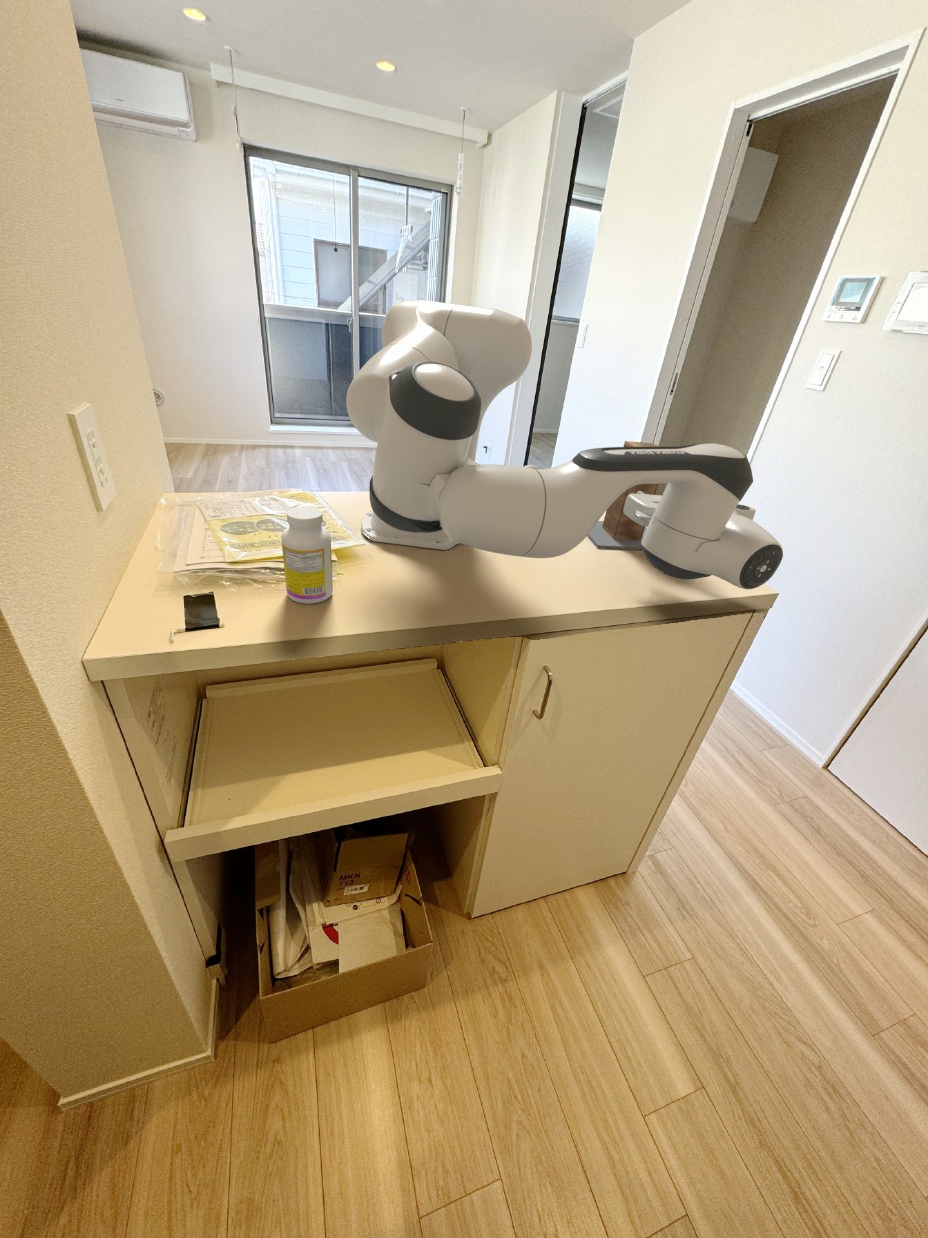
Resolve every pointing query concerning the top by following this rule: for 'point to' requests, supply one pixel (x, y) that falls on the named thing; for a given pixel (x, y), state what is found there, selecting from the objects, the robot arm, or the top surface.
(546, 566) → the top surface
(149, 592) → the top surface
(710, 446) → the robot arm
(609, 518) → the block
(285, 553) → the supplement bottle
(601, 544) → the mat
